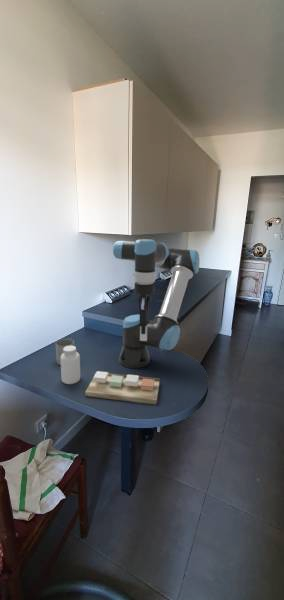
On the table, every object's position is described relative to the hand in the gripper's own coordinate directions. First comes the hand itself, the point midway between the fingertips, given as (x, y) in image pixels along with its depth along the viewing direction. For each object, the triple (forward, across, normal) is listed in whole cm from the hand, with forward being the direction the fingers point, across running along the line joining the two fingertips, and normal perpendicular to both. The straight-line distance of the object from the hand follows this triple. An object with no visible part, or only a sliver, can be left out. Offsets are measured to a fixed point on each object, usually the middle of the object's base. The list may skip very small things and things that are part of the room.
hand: (143, 339), depth 109 cm
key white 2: (+18, +3, -4) cm, 18 cm away
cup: (+22, -16, -40) cm, 48 cm away
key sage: (+19, +3, -10) cm, 22 cm away
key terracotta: (+19, +4, +3) cm, 19 cm away
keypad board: (+21, +3, -7) cm, 23 cm away
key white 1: (+18, +3, -17) cm, 25 cm away
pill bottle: (+22, 0, -31) cm, 38 cm away
